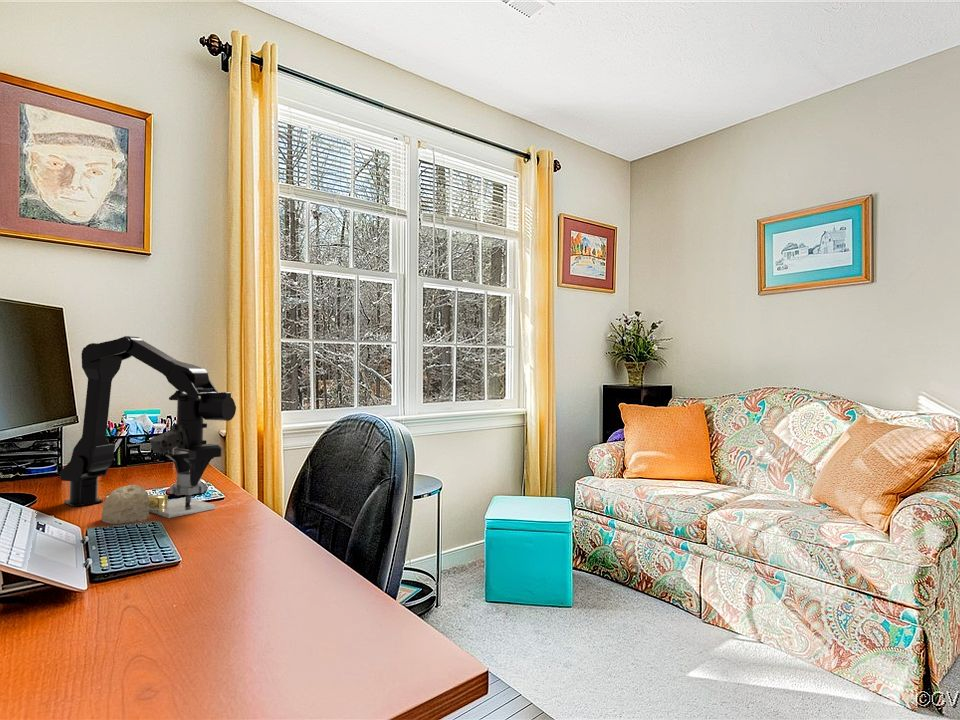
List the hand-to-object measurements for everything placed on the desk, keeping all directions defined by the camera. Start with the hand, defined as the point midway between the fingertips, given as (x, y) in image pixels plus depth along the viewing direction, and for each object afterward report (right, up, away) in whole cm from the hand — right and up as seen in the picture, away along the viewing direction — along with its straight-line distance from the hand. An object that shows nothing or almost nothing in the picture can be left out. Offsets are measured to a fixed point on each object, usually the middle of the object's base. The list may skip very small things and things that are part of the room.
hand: (188, 484), depth 138 cm
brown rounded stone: (-10, -6, -9) cm, 14 cm away
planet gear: (0, -2, 0) cm, 2 cm away
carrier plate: (-3, -6, +1) cm, 7 cm away
